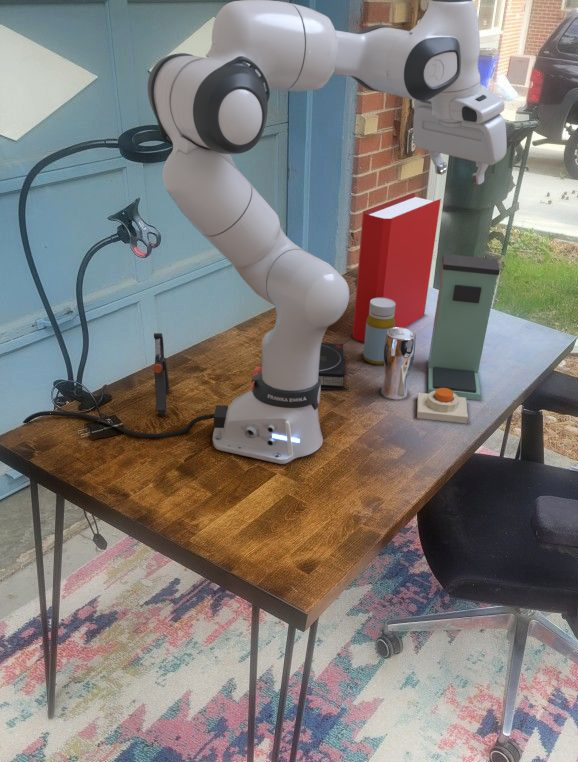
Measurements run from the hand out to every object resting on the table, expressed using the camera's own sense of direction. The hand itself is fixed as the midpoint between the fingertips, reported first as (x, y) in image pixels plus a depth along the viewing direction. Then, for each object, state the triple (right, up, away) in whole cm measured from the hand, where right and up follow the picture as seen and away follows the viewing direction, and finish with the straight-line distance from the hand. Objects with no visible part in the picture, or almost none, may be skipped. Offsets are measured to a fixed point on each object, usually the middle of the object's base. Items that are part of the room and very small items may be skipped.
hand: (459, 177), depth 140 cm
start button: (0, -39, +22) cm, 45 cm away
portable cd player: (-31, -31, +35) cm, 56 cm away
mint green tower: (+4, -33, +37) cm, 49 cm away
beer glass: (-11, -37, +29) cm, 49 cm away
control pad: (0, -42, +24) cm, 48 cm away
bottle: (-14, -27, +43) cm, 53 cm away
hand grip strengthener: (-62, -41, +18) cm, 77 cm away
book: (-10, -14, +61) cm, 63 cm away
